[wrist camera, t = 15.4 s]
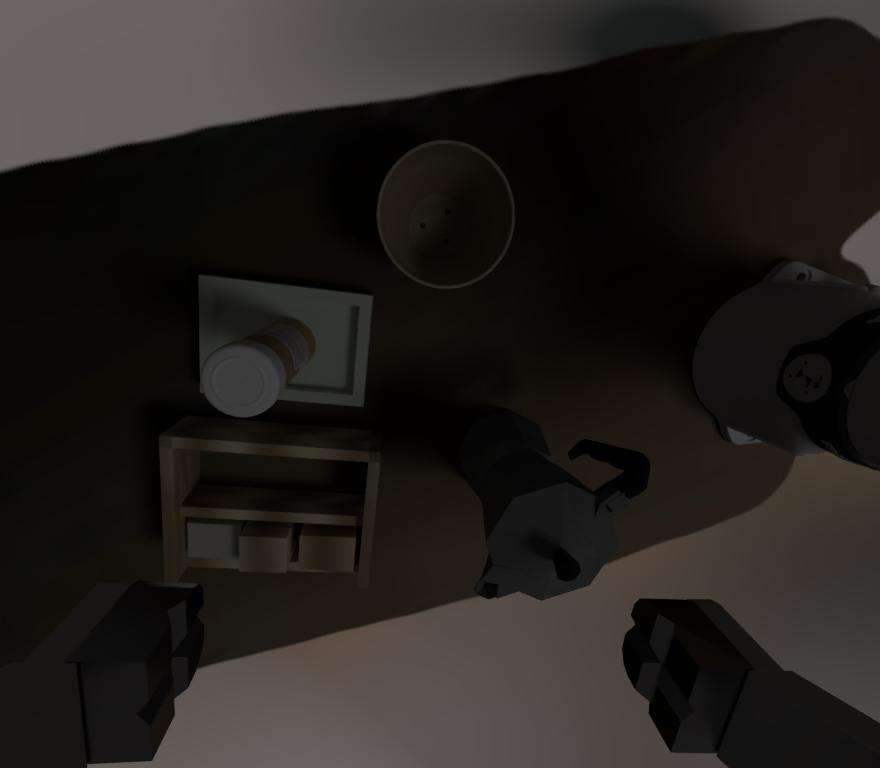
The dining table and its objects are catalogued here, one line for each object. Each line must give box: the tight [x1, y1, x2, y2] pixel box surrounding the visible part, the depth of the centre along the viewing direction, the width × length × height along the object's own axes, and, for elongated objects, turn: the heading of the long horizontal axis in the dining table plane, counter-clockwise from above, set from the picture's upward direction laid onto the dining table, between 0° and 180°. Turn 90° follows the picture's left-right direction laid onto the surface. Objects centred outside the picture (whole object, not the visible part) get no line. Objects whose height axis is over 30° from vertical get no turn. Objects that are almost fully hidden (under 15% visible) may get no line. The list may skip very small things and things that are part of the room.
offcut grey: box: [187, 517, 249, 560], centre depth 41 cm, size 5×4×4 cm
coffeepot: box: [458, 411, 650, 600], centre depth 35 cm, size 15×9×18 cm, turn 129°
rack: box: [159, 415, 383, 588], centre depth 40 cm, size 18×14×5 cm
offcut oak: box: [298, 523, 359, 571], centre depth 42 cm, size 5×4×5 cm
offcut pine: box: [239, 520, 299, 573], centre depth 41 cm, size 4×4×6 cm
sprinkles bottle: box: [200, 319, 316, 417], centre depth 32 cm, size 5×5×13 cm
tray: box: [198, 274, 374, 407], centre depth 38 cm, size 14×10×2 cm
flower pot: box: [376, 140, 515, 289], centre depth 34 cm, size 10×10×7 cm
